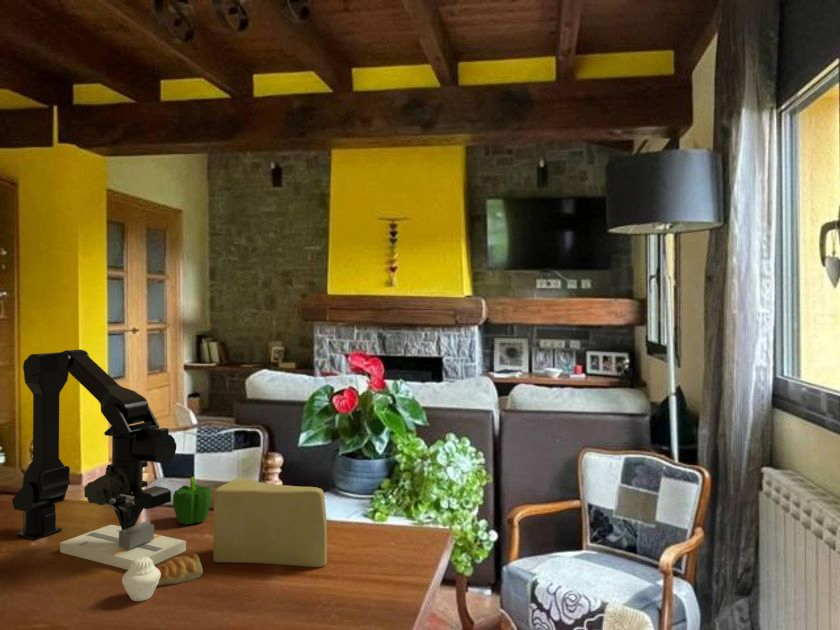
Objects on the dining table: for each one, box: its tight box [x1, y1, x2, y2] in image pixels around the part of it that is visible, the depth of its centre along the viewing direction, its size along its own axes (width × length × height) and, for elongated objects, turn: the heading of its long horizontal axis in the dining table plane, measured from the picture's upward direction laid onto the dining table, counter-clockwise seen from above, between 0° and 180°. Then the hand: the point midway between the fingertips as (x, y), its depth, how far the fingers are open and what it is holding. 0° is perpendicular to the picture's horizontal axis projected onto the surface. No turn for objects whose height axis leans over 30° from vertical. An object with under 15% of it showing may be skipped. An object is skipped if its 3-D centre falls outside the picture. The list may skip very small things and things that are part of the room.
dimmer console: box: [59, 524, 187, 571], centre depth 130 cm, size 22×12×2 cm, turn 65°
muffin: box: [121, 557, 161, 602], centre depth 110 cm, size 6×6×7 cm
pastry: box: [155, 552, 204, 587], centre depth 118 cm, size 9×7×4 cm
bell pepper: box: [172, 476, 212, 526], centre depth 149 cm, size 8×8×10 cm
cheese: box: [212, 477, 328, 568], centre depth 126 cm, size 22×10×15 cm, turn 76°
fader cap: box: [119, 520, 155, 549], centre depth 128 cm, size 3×6×4 cm, turn 155°
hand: (127, 534), depth 130 cm, fingers closed
